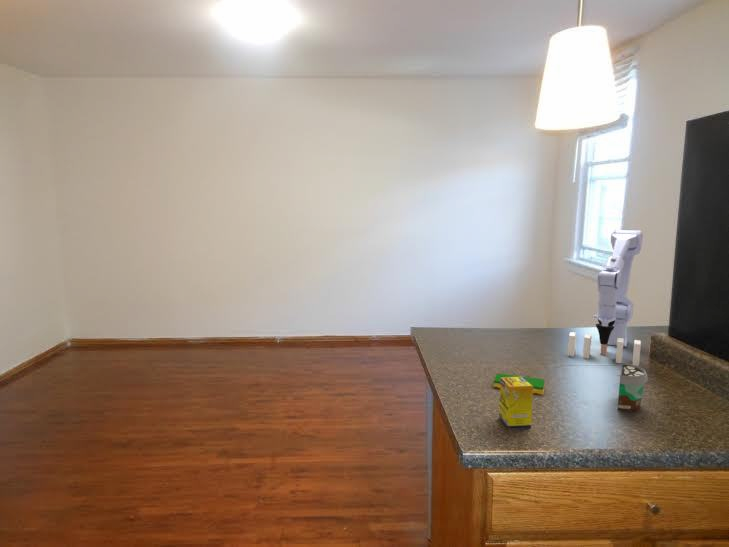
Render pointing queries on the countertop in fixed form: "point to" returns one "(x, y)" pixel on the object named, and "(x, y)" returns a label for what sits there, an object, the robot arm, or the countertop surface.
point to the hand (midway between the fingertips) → (604, 341)
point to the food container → (631, 387)
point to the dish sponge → (536, 383)
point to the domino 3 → (603, 349)
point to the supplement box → (515, 402)
